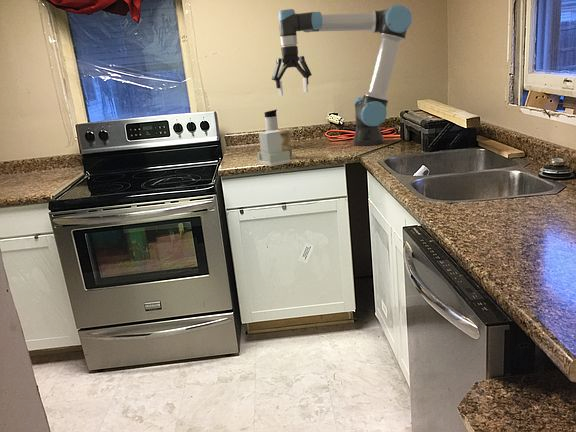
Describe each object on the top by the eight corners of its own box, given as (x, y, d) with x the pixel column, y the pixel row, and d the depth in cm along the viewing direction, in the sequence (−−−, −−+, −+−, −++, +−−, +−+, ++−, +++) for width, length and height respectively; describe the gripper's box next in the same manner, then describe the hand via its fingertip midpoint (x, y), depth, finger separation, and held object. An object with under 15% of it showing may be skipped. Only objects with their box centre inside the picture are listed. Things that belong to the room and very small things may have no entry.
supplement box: (283, 159, 233) (280, 131, 229) (269, 162, 229) (266, 133, 226) (275, 157, 239) (272, 130, 235) (261, 160, 235) (258, 132, 232)
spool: (289, 155, 250) (287, 128, 246) (299, 157, 242) (297, 129, 238) (273, 158, 246) (270, 130, 242) (283, 160, 238) (280, 132, 234)
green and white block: (277, 159, 242) (276, 148, 240) (290, 162, 232) (289, 151, 230) (258, 163, 237) (257, 152, 235) (270, 166, 227) (269, 155, 225)
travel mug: (278, 148, 270) (275, 110, 264) (266, 149, 271) (262, 111, 266) (281, 146, 276) (277, 108, 270) (269, 147, 277) (265, 109, 272)
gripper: (307, 44, 244) (311, 90, 250) (261, 48, 232) (266, 96, 238) (316, 43, 237) (320, 90, 244) (269, 47, 226) (274, 97, 232)
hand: (293, 93), depth 241 cm, fingers open, 13 cm apart
